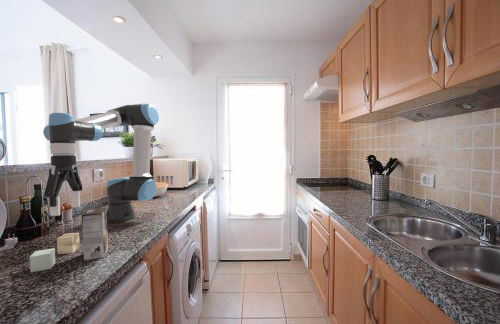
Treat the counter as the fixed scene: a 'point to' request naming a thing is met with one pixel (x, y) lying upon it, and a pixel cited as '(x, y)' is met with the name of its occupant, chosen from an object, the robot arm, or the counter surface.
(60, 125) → the robot arm
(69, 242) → the maple block
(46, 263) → the sage block
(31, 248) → the counter surface
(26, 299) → the counter surface
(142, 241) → the counter surface
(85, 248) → the coffee box
